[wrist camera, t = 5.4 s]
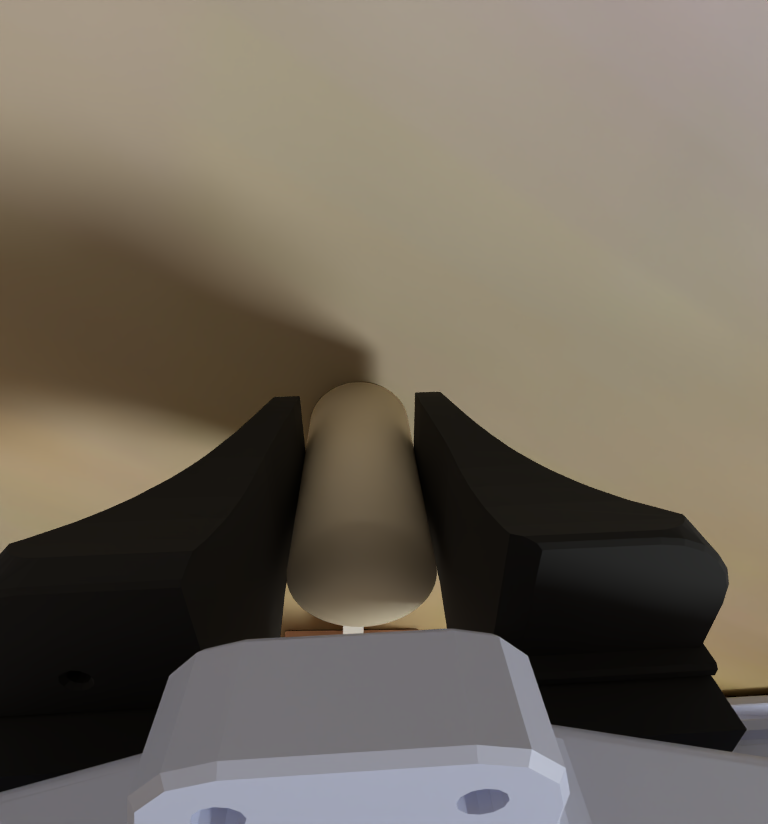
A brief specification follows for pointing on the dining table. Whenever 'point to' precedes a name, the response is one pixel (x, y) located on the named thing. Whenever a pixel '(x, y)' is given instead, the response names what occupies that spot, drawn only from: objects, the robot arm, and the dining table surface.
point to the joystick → (360, 515)
